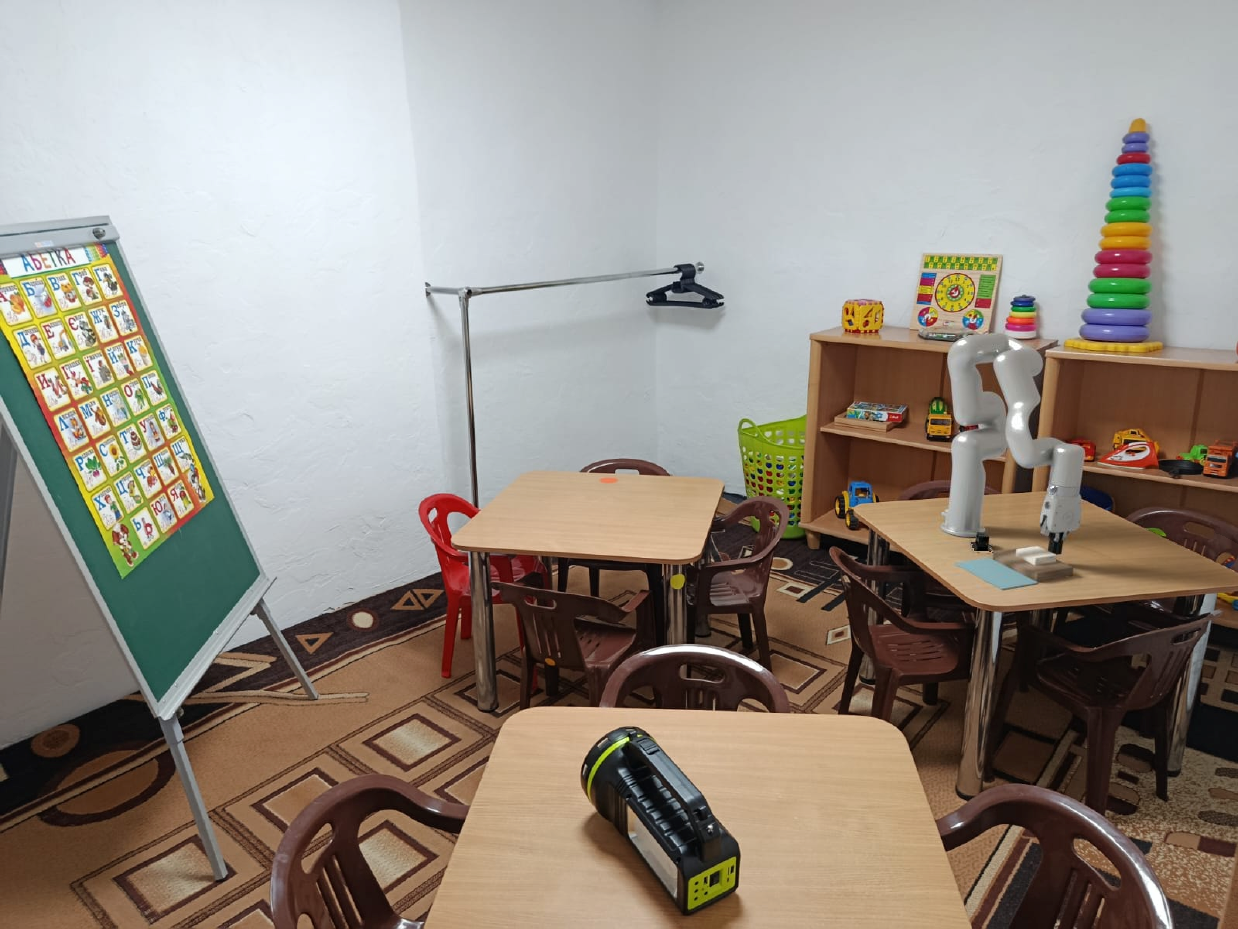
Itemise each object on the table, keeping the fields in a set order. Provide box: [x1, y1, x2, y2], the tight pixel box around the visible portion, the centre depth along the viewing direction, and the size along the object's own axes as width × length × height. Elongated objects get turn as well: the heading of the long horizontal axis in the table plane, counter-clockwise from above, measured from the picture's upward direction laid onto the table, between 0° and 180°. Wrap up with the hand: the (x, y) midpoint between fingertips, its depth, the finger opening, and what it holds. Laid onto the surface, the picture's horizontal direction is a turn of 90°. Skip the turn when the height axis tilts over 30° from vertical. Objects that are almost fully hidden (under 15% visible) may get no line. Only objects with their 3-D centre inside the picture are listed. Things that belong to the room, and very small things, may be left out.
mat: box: [954, 557, 1039, 591], centre depth 224 cm, size 18×12×1 cm, turn 18°
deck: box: [992, 545, 1074, 583], centre depth 227 cm, size 16×12×2 cm
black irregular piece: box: [970, 531, 994, 553], centre depth 242 cm, size 12×7×5 cm, turn 166°
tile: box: [1016, 545, 1058, 565], centre depth 227 cm, size 7×7×2 cm
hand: (1054, 552), depth 229 cm, fingers closed
